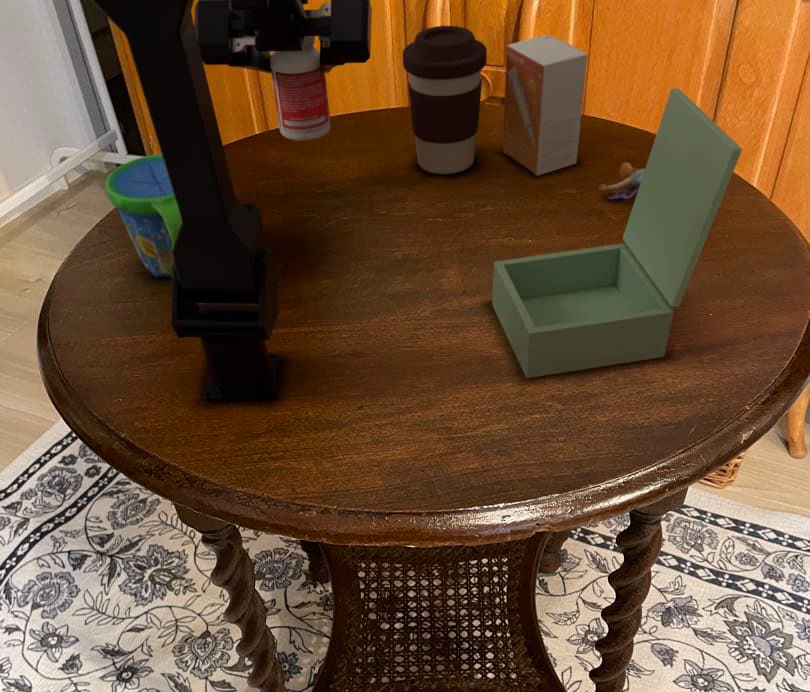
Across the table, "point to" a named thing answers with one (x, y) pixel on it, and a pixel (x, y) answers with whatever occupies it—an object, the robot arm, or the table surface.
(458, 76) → the coffee cup
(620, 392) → the table surface
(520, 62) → the small box
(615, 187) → the fairy figurine
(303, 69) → the pill bottle
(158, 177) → the snack cup
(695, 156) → the chest lid
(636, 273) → the chest
